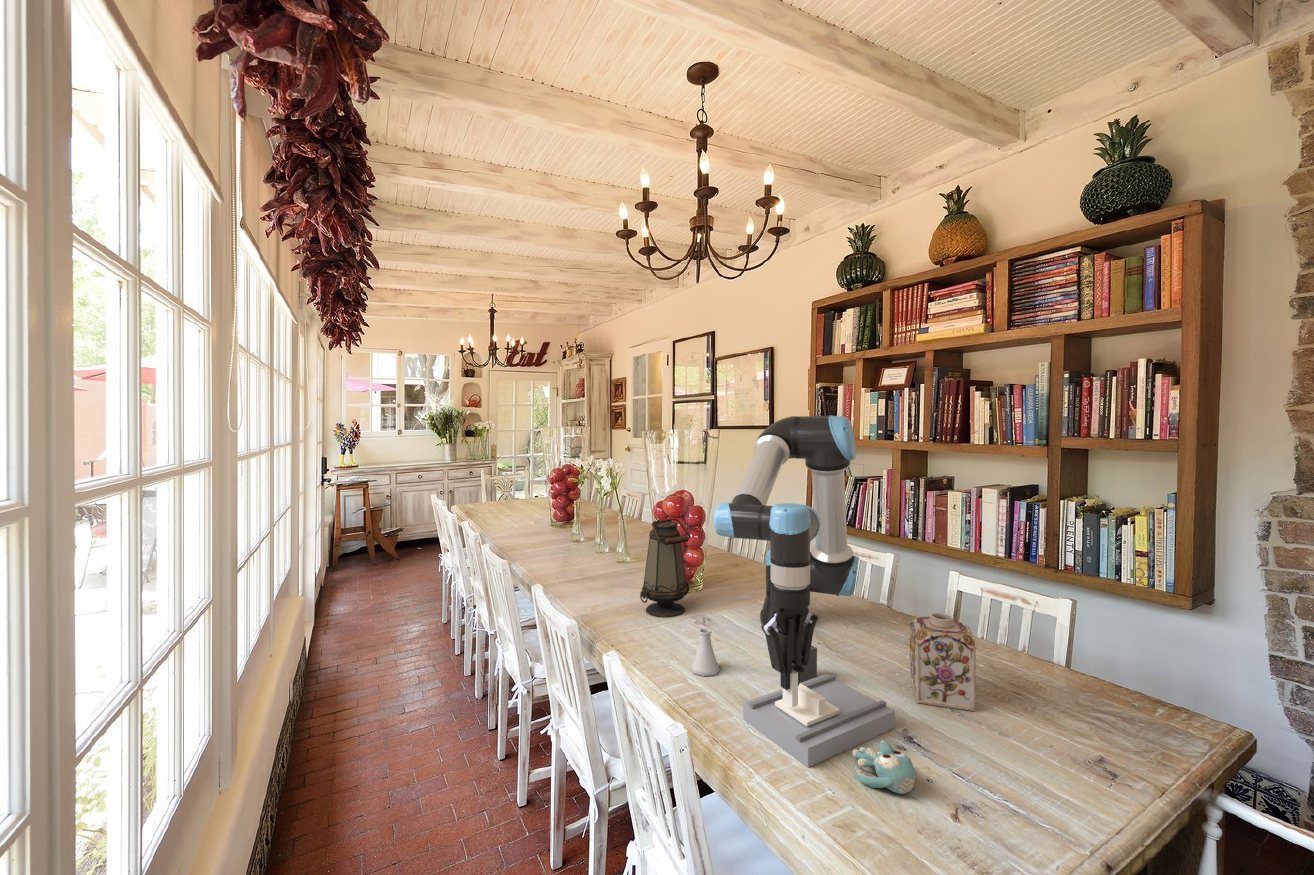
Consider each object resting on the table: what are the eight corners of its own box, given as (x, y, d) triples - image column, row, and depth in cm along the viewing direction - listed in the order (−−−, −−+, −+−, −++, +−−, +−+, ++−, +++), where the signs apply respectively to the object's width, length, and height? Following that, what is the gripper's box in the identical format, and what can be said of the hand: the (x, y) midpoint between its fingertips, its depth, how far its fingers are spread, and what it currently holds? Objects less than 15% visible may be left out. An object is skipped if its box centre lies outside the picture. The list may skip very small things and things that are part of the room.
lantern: (673, 598, 187) (672, 512, 186) (701, 611, 174) (701, 518, 173) (628, 609, 176) (627, 518, 175) (655, 623, 164) (654, 525, 163)
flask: (718, 678, 129) (718, 637, 129) (688, 675, 130) (688, 635, 130) (721, 664, 136) (721, 625, 136) (692, 662, 138) (692, 624, 137)
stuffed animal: (876, 720, 101) (930, 743, 90) (882, 761, 100) (937, 789, 89) (831, 734, 97) (881, 759, 86) (836, 777, 96) (888, 808, 85)
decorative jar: (965, 686, 124) (965, 609, 123) (977, 713, 113) (977, 628, 112) (908, 679, 128) (908, 604, 127) (914, 703, 117) (914, 621, 116)
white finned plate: (807, 693, 114) (807, 676, 114) (840, 713, 106) (840, 694, 106) (774, 705, 109) (774, 687, 109) (807, 726, 102) (807, 706, 102)
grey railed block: (825, 689, 123) (825, 670, 123) (894, 727, 108) (894, 706, 108) (743, 719, 111) (743, 698, 111) (807, 767, 96) (807, 744, 95)
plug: (799, 673, 131) (799, 631, 131) (816, 682, 126) (816, 639, 126) (782, 678, 128) (782, 636, 128) (799, 688, 124) (799, 644, 123)
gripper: (800, 574, 111) (800, 686, 112) (751, 584, 105) (751, 703, 106) (828, 583, 105) (828, 702, 106) (778, 595, 98) (778, 722, 99)
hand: (790, 703), depth 106 cm, fingers closed
